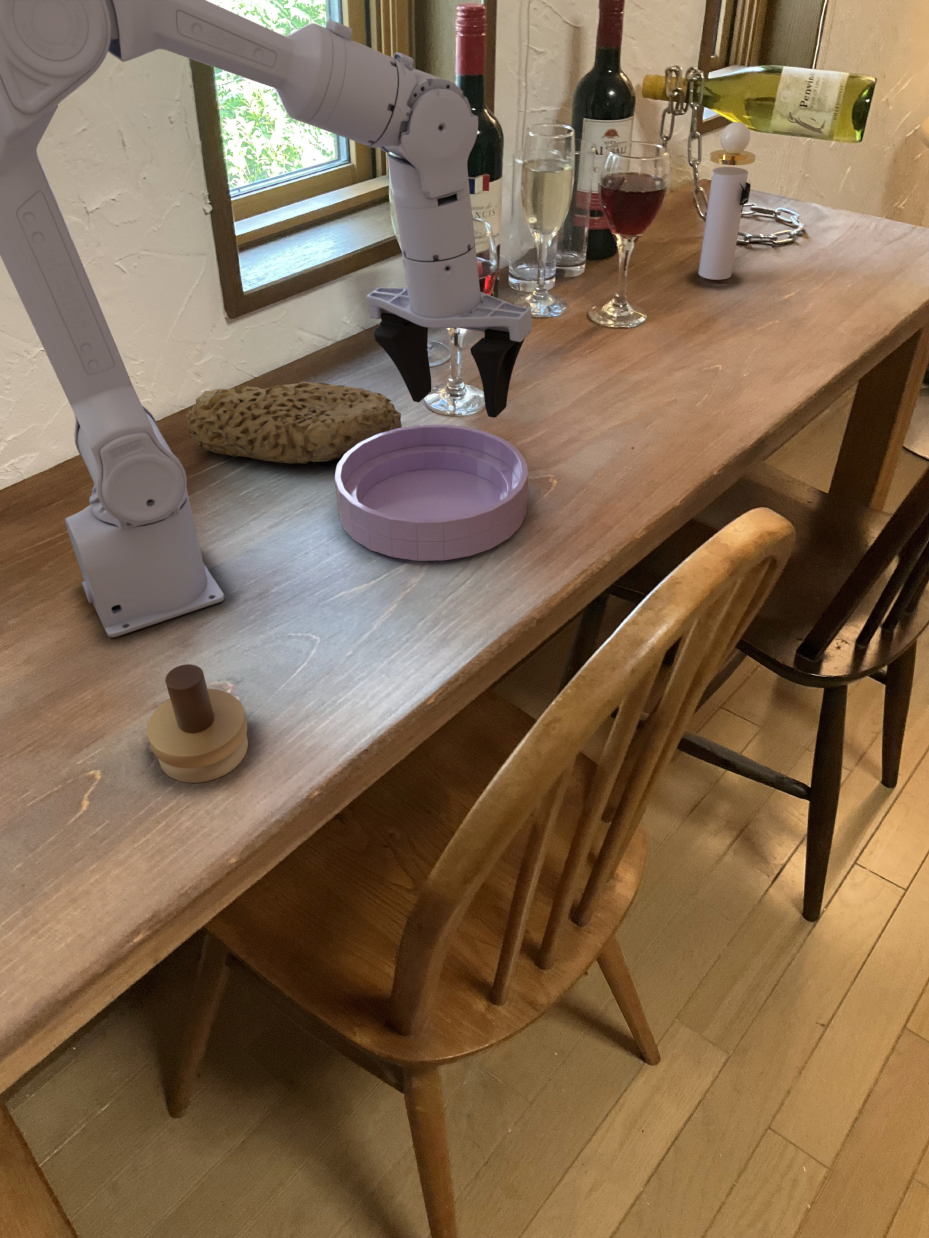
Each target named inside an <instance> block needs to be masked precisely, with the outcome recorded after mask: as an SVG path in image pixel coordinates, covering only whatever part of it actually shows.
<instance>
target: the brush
mask: <svg viewBox="0 0 929 1238" xmlns="http://www.w3.org/2000/svg"><path fill="white" fill-rule="evenodd" d="M164 681H165V685H166V689H167V693H168V696H169V698H168V699H167V700H165V701H164V702H162V703H161V704H160V705H159V706H158V707H157V708H156V709H155V710H154V711H153V712H152V714H151V716H150V717H149V720H148V722H147V727H146V735H147V738H148V741H149V745H150V749H151V751H152V752H153V754H154V756H155V757H156V758H157V760H158V763H159V766H160V768H161V770H162V771H163V772H164V773H165V774H166V775H167V776H168V777H170V778H172V779H174V780H175V781H179V782H183V783H190V784H191V783H193V784H197V783H206V782H210V781H213V780H216V779H218V778H221V777H223V776H226V775H227V774H228V773H231V772H232V771H233V770H234V769H236V768H237V766H239V764H240V763H242V761H243V759H244V758H245V757H246V754H247V751H248V747H249V739H248V734H247V732H248V720H247V716H246V712H245V711H246V710H245V707H244V706H243V703H242V702H241V701H240V700H239V699H238V697H236V696H235V695H234V694H232V693H230V692H228V691H225V690H222V689H218V688H208V685H207V681H206V678H205V674H204V670H203V669H202V668H201V667H200V666H198V665H196V664H189V663H187V664H181V665H178V666H176V667H174V668H172V669H171V670H170V671H168V672H167V674H166V675H165V679H164Z"/></svg>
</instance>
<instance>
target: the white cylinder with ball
mask: <svg viewBox="0 0 929 1238" xmlns="http://www.w3.org/2000/svg"><path fill="white" fill-rule="evenodd" d="M748 127H749V126H747V125H746V124H745V123H743V122H741V121H735V122H731V123H729V124H727V125H726V126H725V128H723V130H722V132H721V136H720V145H721V147H722V149H717V150H714V151H711V152H710V154H709V161H711V162H713V163H715V164H719V165H724V166H720V167H715V168H713V169H712V171H711V178H710V179H711V180H710V186H709V192H708V193H709V195H708V199H707V208H706V214H705V223H704V229H703V236H702V244H701V249H700V258H699V264H698V270H697V271H698V272H697V274H698V275H699V276H700V277H701V278H703V279H704V278H705V279H707V280H708V279H709V280H717V281H718V280H727V279H729V278H731V277H732V275H733V268H734V263H735V256H736V250H737V244H738V238H739V231H740V226H741V225H740V224H741V220H742V219H741V218H742V213H743V211H744V207H745V205H746V204H747V205H746V206H748V203H749V198H750V193H751V185H752V184H751V180H748V176H749V171H748V170H747V169H745V168H742V167H737V166H746V165H751V164H753V163H755V161H756V156H757V155H756V154H755V153H753V152H751V151H748V150H746V148H747V147H748V146H749V143H750V141H751V133H750V129H749V128H748ZM735 166H736V167H735ZM748 181H749V182H748Z"/></svg>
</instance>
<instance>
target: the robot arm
mask: <svg viewBox="0 0 929 1238" xmlns="http://www.w3.org/2000/svg"><path fill="white" fill-rule="evenodd" d="M352 35H353V29H352V28H351V27H349V26H347V25H344V24H342V23H340V22H337V21H336V20H335V21H334V20H332V19H329V20H327V22H326V25H325V27H324V26H322V25H320V24H317V23H314V22H311V23H307V24H306V25H304V26H301V27H300V28H299V29H297V30H295V31H292V32H291V33H288V34H285V35H283V34H281V33H279V32H276V31H274V30H273V29H270V28H267V27H265V26H263V25H261V24H258V23H256V22H254V21H252V20H250V19H248V18H246V17H244V16H241V15H240V14H236V13H235V12H232V11H230V10H228V9H226V8H224V7H221V6H219V5H217V4H215V3H213V2H212V1H211V2H210V1H208V0H0V258H1V260H2V262H3V264H4V268H5V269H6V271H7V273H8V275H9V277H10V279H11V281H12V284H13V286H14V288H15V290H16V292H17V294H18V297H19V299H20V301H21V304H22V305H23V307H24V310H25V311H26V314H27V315H28V318H29V320H30V322H31V323H32V326H33V328H34V330H35V333H36V335H37V337H38V339H39V341H40V343H41V346H42V348H43V350H44V351H45V354H46V356H47V359H48V360H49V363H50V365H51V367H52V369H53V371H54V373H55V375H56V378H57V379H58V381H59V384H60V386H61V389H62V391H63V392H64V395H65V397H66V399H67V401H68V403H69V405H70V408H71V409H72V412H73V414H74V421H75V424H74V433H73V437H74V444H75V447H76V450H77V452H78V454H79V456H80V457H81V458H82V460H83V461H84V464H85V467H86V469H87V471H88V473H89V475H90V477H91V480H92V482H93V487H92V490H91V495H90V496H89V500H88V501H89V505H88V506H86V507H85V508H84V509H82V510H80V511H78V512H76V513H74V514H71V515H70V516H67V517H65V518H64V523H65V527H66V531H67V534H68V535H69V536H68V537H69V539H70V542H71V546H72V549H73V553H74V555H75V558H76V561H77V564H78V567H79V570H80V573H81V576H82V579H83V580H82V581H81V586H82V589H83V592H84V594H85V597H86V599H87V601H88V603H89V604H92V605H93V607H94V609H95V612H96V613H97V616H98V618H99V620H100V623H101V624H102V626H103V628H104V630H105V633H106V634H107V636H108V637H109V638H116V637H120V636H123V635H126V634H129V633H131V632H134V631H138V630H141V629H144V628H146V627H149V626H153V625H156V624H159V623H162V622H165V621H167V620H170V619H173V618H177V617H180V616H182V615H186V614H188V613H192V612H194V611H197V610H200V609H203V608H207V607H209V606H212V605H215V604H219V603H221V602H223V601H224V600H225V593H224V592H223V591H222V589H221V587H220V585H219V584H218V583H217V581H216V580H215V578H214V577H213V575H212V574H211V572H210V571H209V569H208V567H207V566H206V565H205V563H204V560H203V559H204V558H203V555H202V551H201V546H200V541H199V537H198V533H197V529H196V524H195V518H194V515H193V510H192V506H191V502H190V497H189V493H188V488H187V487H188V486H187V485H188V484H187V483H188V482H187V473H186V470H185V468H184V466H183V464H182V462H181V460H180V459H179V458H178V457H177V456H176V455H175V454H174V453H173V452H172V450H171V448H170V446H169V444H168V443H167V441H166V439H165V438H164V436H163V434H162V432H161V431H160V429H159V425H158V423H157V421H156V418H155V417H154V415H153V414H152V412H151V411H150V410H149V409H148V408H147V407H146V406H144V405H143V404H142V402H141V400H140V398H139V395H138V394H137V391H136V390H135V387H134V384H133V383H132V380H131V378H130V376H129V373H128V371H127V368H126V366H125V364H124V361H123V359H122V356H121V353H120V352H119V349H118V347H117V344H116V342H115V339H114V337H113V334H112V332H111V330H110V326H109V324H108V322H107V320H106V317H105V314H104V312H103V310H102V308H101V305H100V303H99V300H98V298H97V296H96V293H95V290H94V288H93V285H92V283H91V282H90V278H89V276H88V273H87V271H86V269H85V267H84V264H83V261H82V259H81V256H80V254H79V252H78V250H77V247H76V245H75V243H74V240H73V237H72V235H71V232H70V230H69V227H68V225H67V223H66V221H65V218H64V216H63V212H62V211H61V209H60V206H59V203H58V201H57V199H56V196H55V194H54V191H53V189H52V186H51V183H50V182H49V180H48V179H49V178H48V177H47V174H46V172H45V169H44V167H43V165H42V162H41V159H40V158H39V155H38V151H37V150H38V145H39V144H40V142H41V140H42V139H43V136H44V134H45V132H46V131H47V128H48V127H49V125H50V123H51V121H52V119H53V116H54V115H55V113H56V111H57V109H58V108H59V104H60V103H62V102H63V101H64V100H65V99H66V98H68V97H70V95H71V94H73V93H74V92H75V91H76V90H77V89H79V87H81V86H82V85H84V84H85V83H86V82H87V81H89V79H90V78H92V76H93V75H95V74H96V72H98V70H99V69H100V68H101V66H102V65H103V63H104V61H105V60H106V57H107V55H108V53H109V54H110V55H112V56H113V57H115V58H116V59H118V60H119V61H121V62H122V63H124V62H129V61H131V60H135V59H137V58H140V57H143V56H145V55H147V54H150V53H152V52H155V51H158V50H163V51H167V52H169V53H172V54H176V55H178V56H181V57H184V58H187V59H190V60H193V61H196V62H199V63H202V64H204V65H207V66H210V67H212V68H216V69H219V70H222V71H224V72H227V73H229V74H232V75H236V76H239V77H242V78H244V79H247V80H250V81H253V82H257V83H258V84H262V85H265V86H268V87H271V88H273V90H274V91H275V93H276V95H277V97H278V99H279V101H280V103H281V106H282V107H283V110H284V111H285V113H286V114H287V116H288V117H289V118H291V119H293V120H296V121H298V122H301V123H304V124H306V125H309V126H312V127H315V128H317V129H320V130H323V131H326V132H329V133H331V134H333V135H337V136H339V137H342V138H344V139H348V140H350V141H353V142H355V143H358V144H361V145H363V146H366V147H369V148H373V149H377V148H379V149H380V150H381V151H382V152H384V153H389V154H387V158H386V159H387V164H388V171H389V176H390V182H391V191H392V193H391V194H392V199H393V204H394V211H395V217H396V224H397V230H398V237H399V242H400V248H401V256H402V263H403V269H404V274H405V282H406V287H383V286H382V287H381V286H378V287H376V289H374V290H372V291H371V292H370V293H368V294H367V295H366V296H365V299H366V305H367V310H368V315H369V318H370V319H374V320H380V322H379V324H380V325H379V326H378V327H376V328H375V329H374V331H373V337H374V341H375V342H376V343H377V344H378V345H379V346H380V347H381V348H382V349H383V351H384V352H385V353H386V354H387V355H388V357H389V358H390V359H391V361H392V362H393V364H394V366H395V367H396V369H397V371H398V372H399V374H400V376H401V378H402V380H403V382H404V384H405V386H406V388H407V391H408V392H409V395H410V397H411V400H412V401H413V402H415V403H420V402H422V401H423V400H424V399H425V398H426V397H427V396H428V395H430V393H432V373H431V368H430V367H431V365H430V360H429V359H430V358H429V345H428V344H429V343H428V342H429V341H428V340H429V339H428V337H429V328H430V329H464V330H469V331H475V332H483V334H484V337H481V338H480V339H479V340H478V341H477V342H476V343H475V344H473V345H472V346H471V347H470V354H471V356H472V359H473V360H474V362H475V365H476V367H477V370H478V373H479V377H480V381H481V383H482V392H483V401H484V408H485V410H486V414H487V417H489V418H497V417H498V416H499V415H500V414H501V413H502V412H503V411H504V410H505V409H506V408H507V405H508V396H509V390H510V389H509V388H510V383H511V379H512V375H513V371H514V368H515V364H516V361H517V358H518V356H519V353H520V351H521V348H522V346H523V344H524V342H525V339H526V338H527V337H528V336H529V335H530V334H531V333H532V332H533V319H532V308H530V307H525V306H520V305H517V304H514V303H511V302H508V301H506V300H503V299H500V298H498V297H495V296H492V295H490V294H487V293H486V292H483V291H481V286H480V276H479V268H478V258H477V249H476V238H475V228H474V220H473V210H472V209H473V208H472V202H471V201H472V199H471V192H470V182H469V170H468V163H469V162H468V160H469V158H470V154H471V152H472V150H473V148H474V146H475V143H476V140H477V137H478V133H479V132H478V131H479V116H478V115H475V114H474V113H472V108H471V104H470V102H469V99H468V97H467V96H464V91H463V90H462V89H461V87H459V86H458V85H457V84H455V83H454V82H452V81H450V80H447V79H445V78H442V77H439V76H437V75H433V74H431V73H428V72H425V71H422V70H420V69H416V68H415V66H414V62H415V61H414V59H413V57H410V56H409V55H406V54H404V53H403V52H398V51H395V52H394V53H393V56H391V55H388V54H386V53H383V52H382V51H379V50H377V49H374V48H372V47H369V46H368V45H364V44H362V43H360V42H358V41H355V40H353V39H352ZM390 153H392V154H390ZM393 154H394V155H393Z"/></svg>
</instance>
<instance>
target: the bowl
mask: <svg viewBox="0 0 929 1238" xmlns="http://www.w3.org/2000/svg"><path fill="white" fill-rule="evenodd" d="M333 479H334V487H335V497H336V506H337V515H338V518H339V521H340V523H341V527H342V528H343V530H344V531H345V532H346V533H347V534H348V535H349V537H351V538H352V540H353V541H355V542H357V543H358V544H360V545H362V546H363V547H365V548H367V549H368V550H370V551H372V552H376V553H379V554H381V555H385V556H388V557H390V558H395V559H401V560H402V559H403V560H410V561H417V562H418V561H420V562H421V561H422V562H423V561H425V562H427V561H448V560H455V559H459V558H466V557H471V556H474V555H477V554H480V553H482V552H485V551H488V550H491V549H494V548H495V547H497V546H498V545H500V544H502V543H503V542H505V541H507V540H509V539H510V538H511V537H512V536H513V535H514V534H515V533H516V532H517V531H518V530H519V528H520V527H521V526H522V525H523V523H524V520H525V518H526V515H527V512H528V492H529V491H528V490H529V470H528V462H527V460H526V459H525V458H524V456H523V455H522V453H521V451H520V450H519V449H518V448H517V447H515V446H514V445H513V444H512V443H511V442H509V441H508V440H507V439H504V438H502V437H500V436H497V435H495V434H493V433H490V432H489V431H485V430H481V429H477V428H473V427H469V426H463V425H453V424H417V425H410V426H402V428H397V429H393V430H390V431H386V432H383V433H379V434H376V435H374V436H372V437H370V438H368V439H366V440H364V441H361V442H360V443H358V444H357V445H355V446H354V447H353V448H351V449H350V450H349V451H347V452H346V453H345V454H344V456H343V457H340V460H339V461H338V462H337V464H336V467H335V473H334V477H333Z"/></svg>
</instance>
